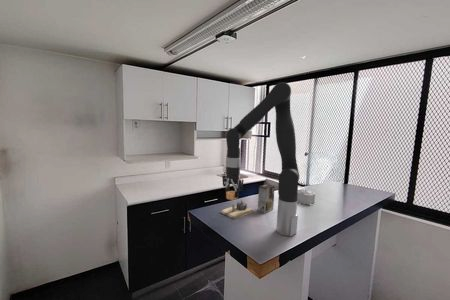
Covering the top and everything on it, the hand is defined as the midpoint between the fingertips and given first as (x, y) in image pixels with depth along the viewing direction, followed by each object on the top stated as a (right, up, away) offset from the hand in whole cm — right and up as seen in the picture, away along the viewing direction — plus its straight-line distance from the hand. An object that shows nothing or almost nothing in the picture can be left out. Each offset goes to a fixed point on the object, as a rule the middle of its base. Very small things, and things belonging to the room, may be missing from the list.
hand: (231, 195), depth 116 cm
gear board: (+4, -14, +17) cm, 22 cm away
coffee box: (+22, -14, +22) cm, 35 cm away
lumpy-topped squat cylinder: (+55, -13, +42) cm, 70 cm away
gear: (0, -1, 0) cm, 1 cm away
